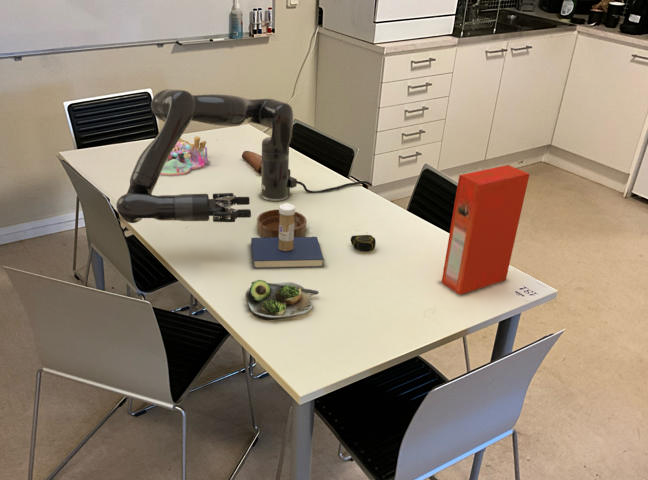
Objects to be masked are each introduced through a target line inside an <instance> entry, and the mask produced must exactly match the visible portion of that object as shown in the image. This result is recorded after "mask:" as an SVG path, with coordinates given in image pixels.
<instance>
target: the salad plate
mask: <svg viewBox="0 0 648 480" xmlns="http://www.w3.org/2000/svg"><path fill="white" fill-rule="evenodd" d="M319 293H320V292H319V290H316V289H309V288H304V286H302V285H301V284H298V283H296V282H292V281H287V282H285V281H284V282H275V283H272V282H267V281H265V280H263V279H257V280H253V281H252V282H251V285H250V287H248V288H247V289H246V292H245V301H246V304H247V306H248V311H249V312H250V314H251V315H253V316H254V317H255V318H257V319H259V320H263V321H278V320H286V319H293V318H295V317H299V316H303V315H306V314H308V313H309V312H311V310H313V309H314V304H313V302H312V300H311V297H312V296H317V295H318V294H319Z"/></svg>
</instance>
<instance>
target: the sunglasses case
mask: <svg viewBox="0 0 648 480" xmlns="http://www.w3.org/2000/svg"><path fill="white" fill-rule="evenodd" d="M241 158H242V159H243V160H244V161H245V162H246V163H247V164H248V165H250V167H251V168H252V169H254V171H255V172H256V173H258V174H259V176H262V154H258V153H257V152H254V151H250V150H244V151H243V152H242V154H241Z"/></svg>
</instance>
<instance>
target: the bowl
mask: <svg viewBox="0 0 648 480" xmlns="http://www.w3.org/2000/svg"><path fill="white" fill-rule="evenodd" d="M279 220H280V213H279V209H270V210H266V211H264V212H261V213H260V214H258V216H257V218H256V232H257V234H259V236H260V237H261V238H270V237H279V222H280V221H279ZM307 222H308V221H307V218H306V217H305V215H303V214H302V213H300V212H298V211H295V215H294V237H305V235H306V233H307V225H308V223H307Z"/></svg>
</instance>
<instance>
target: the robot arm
mask: <svg viewBox="0 0 648 480" xmlns="http://www.w3.org/2000/svg"><path fill="white" fill-rule="evenodd" d="M150 108H151V111H152V113H153V115H154V117H156V118H157V119H158V120H159V121H161V122H163V125H162V127H161V129H160V131H159V132H158V133H157V135H156V136H155V138H154V139H153V140H152V141H151V142H150V143H149V144H148V145H147V146H146V147H145V148H144V150H143V151H142V153H140V155H139V157H138V158H137V161H136V163H135V166H134V168H133V170H132V172H131V175H130V178H129V187H128V190H127V192H126V193H125V194H123V195H121V196H119V198H118V199H117V201H116V211H117V213H118V214H119V216H120V217H121V218H122V219H123V221H125V222H127V223H128V224H137V223H139V222H141V221H142V220H143V219H154V220H157V221H160V222H161V221H164V222H174V221H178V222H209V221H210V217H212V222H214V223H235V222H236V220H237V219H245V218H246V219H247V218H248V219H250V218H251V217H252V210H251V209H250V208H242V209H241V208H240V209H236V208H232V207H233V206H236V205H237V206H249V205H250V203H251V202H250V201H251V200H250V196H236V195H234V192H218V193H212V198H210V197H209V194H208V193H182V194H163V195H162V194H161V195H155V194H153V192H154V189H155V187H156V185H157V183H158V180H159V179H160V176H161V171H162V169H163V167H164V165H165V163H166V161H167V159H168V157H169V155H170V153H171V152H172V150H173V148H174V147H175V145H176V144H177V142H178V140H179V139H180V138H181V137H182V135H183V134H184V132H185V131H186V129H187V128H188V126H189V125H190V123H191V122H197V123H202V124H207V125H212V126H218V127H240V126H241V125H243V124H246V123H248V124H249V123H250V124H256V125H259V126H262V127H265V128H268V129H271V135H270V136H268V137H265V138H263V139H262V141H261V156H262V175H261V183H260V188H261V190H260V191H261V192H260V196H261V198H262V199H263V200H266V201H268V202H281V201H284V200H287V199H288V197H290V196H291V189H293V188H296V187H297V185H300V186H302V188H303V190H304V191H305V192H306V193H309V194H318V193H319V194H320V193H327V192H330V191H336V190H340V189H342V188H345V187H351V186H356V185H361V184H362V185H363V184H365V185H368V186H369V187H373V184H372V183H371V182H369V181H367V180H361V181H355V182H347V183H344V184H341V185H338V186H335V187H329V188H324V189H321V190H310V189H308V188H307V187H306V185H305V184H304V183H303V182H302V181H299V180H298V179H297V178H295V177H293V176H291V169H290V168H289V163H290V144H291V142H292V137H293V125H294V111H293V108H292V106H291V104H289V103H287V102H284V101H280V100H277V99H275V98H259V99H258V98H255V99H253V98H246V97H243V96H238V95H232V94H218V93H216V94H192V93H191V92H189V91H188V90H184V89H172V88H167V89H166V88H165V89H162V90H160V91H158V92H156V93H155V95H154V96H153V97H152V99H151V103H150Z"/></svg>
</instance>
